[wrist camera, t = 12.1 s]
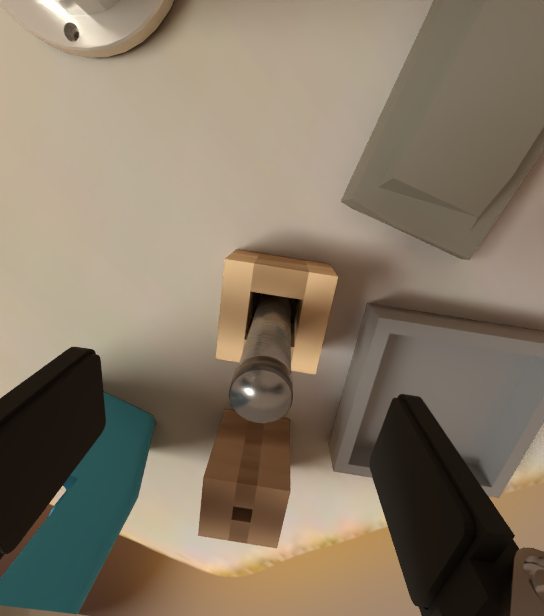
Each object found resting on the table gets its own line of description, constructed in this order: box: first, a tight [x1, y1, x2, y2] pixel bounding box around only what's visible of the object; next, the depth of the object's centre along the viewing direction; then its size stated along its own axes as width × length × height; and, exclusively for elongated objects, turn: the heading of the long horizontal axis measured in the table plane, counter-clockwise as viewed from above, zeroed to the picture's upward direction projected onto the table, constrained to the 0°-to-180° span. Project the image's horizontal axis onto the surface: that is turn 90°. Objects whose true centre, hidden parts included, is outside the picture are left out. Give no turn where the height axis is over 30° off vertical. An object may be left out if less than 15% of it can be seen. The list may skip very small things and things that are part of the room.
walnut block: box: [198, 409, 290, 548], centre depth 24 cm, size 6×6×7 cm
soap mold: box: [341, 0, 544, 260], centre depth 16 cm, size 10×20×4 cm, turn 157°
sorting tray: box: [329, 303, 544, 498], centre depth 23 cm, size 14×14×3 cm
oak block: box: [216, 250, 338, 375], centre depth 21 cm, size 7×7×4 cm
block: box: [0, 392, 155, 614], centre depth 18 cm, size 12×5×20 cm, turn 60°
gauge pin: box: [229, 293, 293, 423], centre depth 17 cm, size 2×2×12 cm
